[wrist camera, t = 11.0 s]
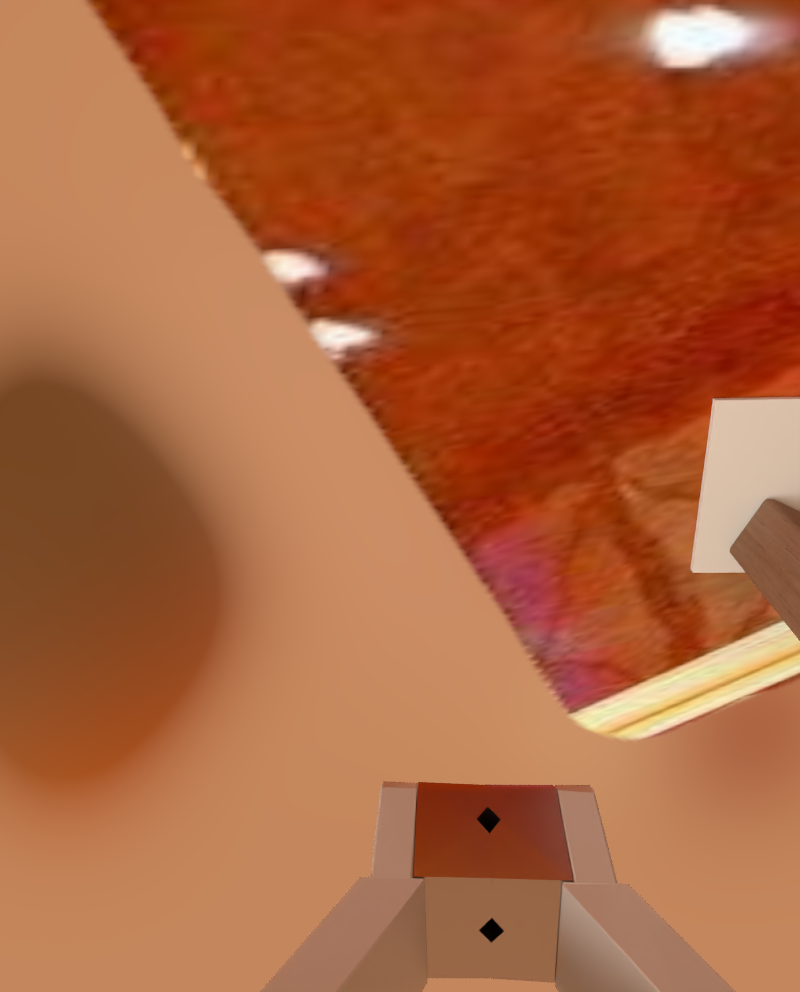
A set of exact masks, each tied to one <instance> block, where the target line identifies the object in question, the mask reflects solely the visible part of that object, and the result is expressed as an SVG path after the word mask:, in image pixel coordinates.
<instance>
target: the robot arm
mask: <svg viewBox="0 0 800 992" xmlns="http://www.w3.org/2000/svg"><path fill="white" fill-rule="evenodd" d="M427 978H493V979H508V980H525V981H539V982H555V986H556V988H557V990H558V991H559V992H735V991H734V990H733V989H732V988H731V987H730V986H729V985H728V984H727V983H726V981H724V979H723V978H722V977H721V976H719V974H718V973H717V972H715V970H713V969H712V967H711V966H710V965H709V964H707V962H706V961H705V960H704V959H703V958H702V957H701V956H700V955H699V954H698V953H697V952H696V951H695V950H694V949H693V948H692V947H691V946H690V945H688V944H687V942H685V940H684V939H683V938H682V937H681V936H680V935H679V934H678V933H677V932H676V931H675V930H674V929H673V928H672V927H671V926H670V925H669V924H668V923H667V922H666V921H665V920H664V919H663V918H662V917H661V916H660V915H659V914H658V913H657V912H656V911H654V909H653V908H652V907H651V906H650V905H649V904H648V903H647V902H646V901H645V900H644V899H643V898H642V897H641V896H640V895H639V894H638V893H637V892H636V891H635V890H634V889H633V888H632V887H631V886H630V885H629V884H617V880H616V876H615V872H614V868H613V864H612V860H611V856H610V852H609V848H608V844H607V840H606V836H605V832H604V829H603V824H602V820H601V816H600V812H599V808H598V804H597V800H596V796H595V793H594V790H593V789H592V787H591V786H590V785H555V786H553V785H473V784H449V783H426V782H419V783H405V782H386V781H384V782H383V784H382V787H381V791H380V799H379V808H378V816H377V825H376V834H375V843H374V852H373V861H372V871H371V877H360V878H359V879H358V880H357V881H356V882H355V884H354V885H353V886H352V887H351V888H350V889H349V891H348V892H347V893H346V894H345V895H344V896H343V897H342V899H341V900H340V901H339V902H338V903H337V904H336V906H335V907H334V908H333V909H332V910H331V911H330V912H329V913H328V915H327V916H326V917H325V918H324V919H323V920H322V921H321V923H320V924H319V925H318V926H317V927H316V928H315V929H314V931H313V932H312V933H311V934H310V935H309V936H308V937H307V939H306V940H305V941H304V942H303V943H302V944H301V945H300V947H299V948H298V949H297V950H296V951H295V952H294V953H293V955H292V956H291V957H290V958H289V959H288V960H287V961H286V963H285V964H284V965H283V966H282V967H281V969H280V970H279V971H278V972H277V973H276V974H275V976H273V978H272V979H271V980H270V981H269V982H268V983H267V984H266V986H265V987H264V988H263V989H262V990H261V991H260V992H422V991H423V989H424V987H425V985H426V984H427Z"/></svg>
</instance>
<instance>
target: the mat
mask: <svg viewBox="0 0 800 992" xmlns="http://www.w3.org/2000/svg"><path fill="white" fill-rule="evenodd" d="M766 499H774V500H776V501H778V502H780V503H783V504H785V505H787V506H789V507H791V508H793V509H795V510H797V511H799V512H800V397H757V398H713V403H712V411H711V418H710V426H709V433H708V441H707V448H706V456H705V463H704V471H703V478H702V486H701V494H700V501H699V509H698V516H697V524H696V531H695V539H694V546H693V554H692V562H691V571H692V572H693V573H729V572H745V571H744V570H743V569H742V567H741V566H740V565H739V564H738V562H737V561H736V560H735V558H734V557H733V556H732V555H731V553H730V547H731V546H732V544H733V543H734V542H735V540H736V539H737V537H738V536H739V535H740V533H741V532H742V531H743V529H744V528H745V526H746V525H747V524H748V522H749V521H750V519H751V518H752V517H753V515H754V514H755V513H756V511H757V510H758V508H759V507H760V506H761V504H762V503H763V502H764V500H766Z"/></svg>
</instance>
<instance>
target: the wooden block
mask: <svg viewBox="0 0 800 992" xmlns="http://www.w3.org/2000/svg"><path fill="white" fill-rule="evenodd" d="M730 553H731V555H732V556H733V557H734V558H735V560H736V561H737V562H738V564H739V565H740V566H741V567H742V569H743V570H744V571H745V572H746V574H747V575H748V576H749V578H750V579H751V580H752V581H753V583H754V584H755V585H756V586H757V588H758V589H759V590H760V591H761V593H762V594H763V595H764V596H765V598H766V599H767V600H768V601H769V603H770V604H771V605H772V606H773V608H774V609H775V610H776V611H777V613H778V614H779V615H780V616H781V618H782V619H783V620H784V621H785V623H786V624H787V625H788V627H789V628H790V629H791V630H792V632H793V633H794V634H795V635H796V637H797V638H798V639H799V640H800V512H799V511H797V510H795V509H793V508H791V507H789V506H787V505H785V504H783V503H780V502H778V501H776V500H774V499H766V500H764V502H763V503H762V504H761V506H760V507H759V508H758V510H757V511H756V513H755V514H754V515H753V517H752V518H751V519H750V521H749V522H748V524H747V525H746V526H745V528H744V529H743V531H742V532H741V533H740V535H739V536H738V537H737V539H736V540H735V542H734V543H733V544H732V546H731V547H730Z"/></svg>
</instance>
